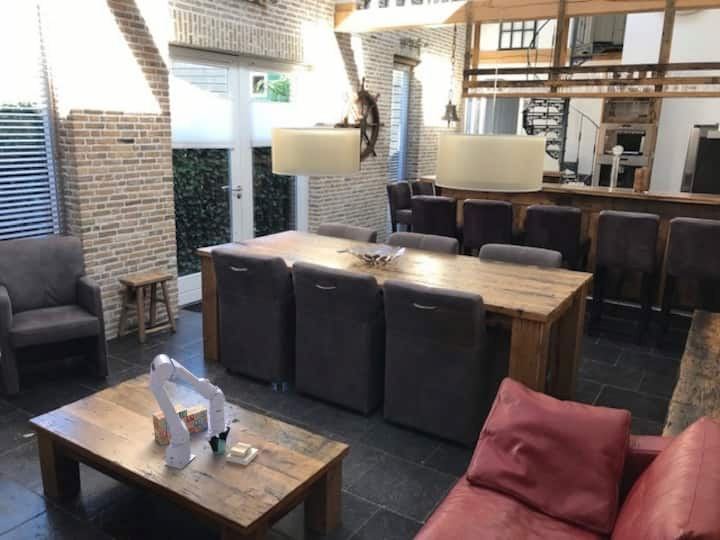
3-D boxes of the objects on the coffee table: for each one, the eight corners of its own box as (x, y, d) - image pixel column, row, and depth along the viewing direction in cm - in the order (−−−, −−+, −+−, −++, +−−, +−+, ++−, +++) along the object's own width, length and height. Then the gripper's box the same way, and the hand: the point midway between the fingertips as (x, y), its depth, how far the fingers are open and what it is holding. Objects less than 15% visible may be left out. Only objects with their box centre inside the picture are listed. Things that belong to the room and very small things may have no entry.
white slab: (246, 466, 233) (246, 461, 232) (226, 461, 236) (226, 456, 235) (258, 454, 241) (258, 449, 240) (239, 450, 244) (238, 444, 243)
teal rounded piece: (221, 455, 239) (220, 446, 238) (210, 453, 241) (209, 444, 240) (227, 449, 244) (227, 440, 242) (217, 446, 245) (216, 438, 244)
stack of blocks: (201, 423, 264) (200, 397, 261) (208, 428, 259) (206, 402, 256) (154, 439, 250) (152, 412, 247) (160, 445, 246) (158, 418, 243)
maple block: (243, 458, 234) (243, 452, 233) (230, 455, 236) (230, 449, 235) (251, 450, 239) (251, 445, 238) (239, 447, 241) (238, 442, 241)
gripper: (215, 428, 230) (216, 459, 234) (236, 411, 243) (237, 441, 247) (199, 424, 233) (201, 455, 236) (221, 408, 246) (222, 437, 249)
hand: (219, 447), depth 242 cm, fingers closed on teal rounded piece, 5 cm apart
